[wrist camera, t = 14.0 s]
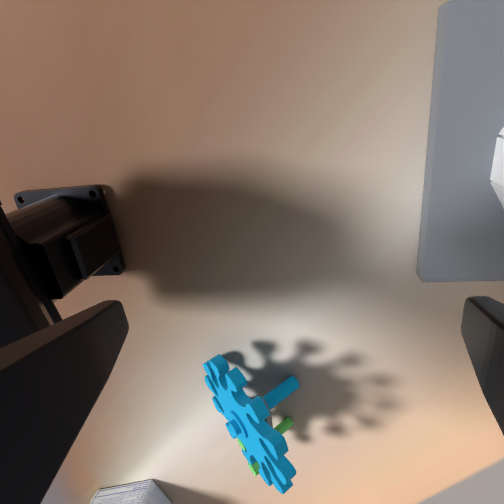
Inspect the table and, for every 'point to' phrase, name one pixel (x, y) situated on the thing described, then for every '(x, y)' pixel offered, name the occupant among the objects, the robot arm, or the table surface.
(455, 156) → the grey square base plate
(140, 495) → the medicine box
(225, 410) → the gear
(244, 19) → the table surface
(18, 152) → the table surface
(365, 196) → the table surface
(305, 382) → the table surface
